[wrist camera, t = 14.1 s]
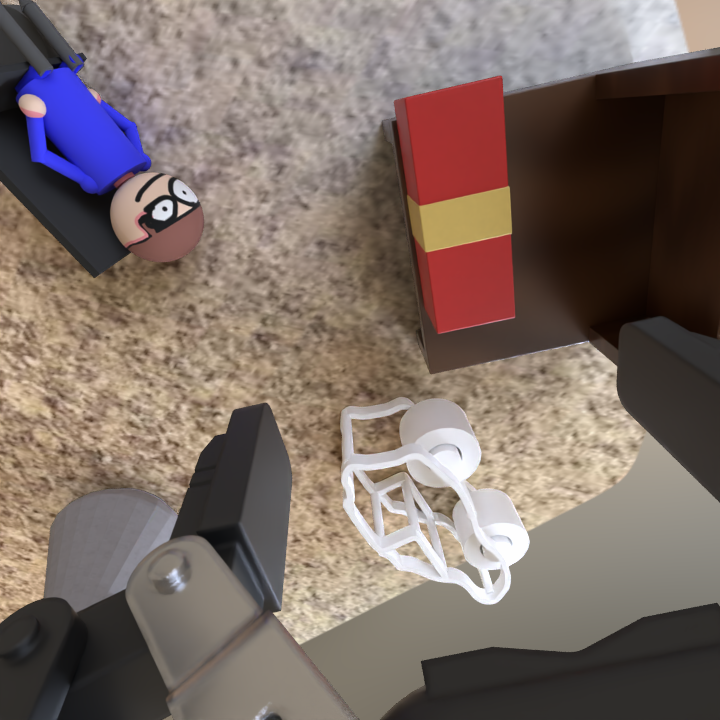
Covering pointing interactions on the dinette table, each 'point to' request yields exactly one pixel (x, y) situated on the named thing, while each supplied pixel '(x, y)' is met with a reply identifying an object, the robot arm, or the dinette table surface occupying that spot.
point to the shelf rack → (601, 211)
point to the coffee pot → (103, 543)
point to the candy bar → (459, 202)
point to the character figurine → (81, 155)
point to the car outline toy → (435, 469)
